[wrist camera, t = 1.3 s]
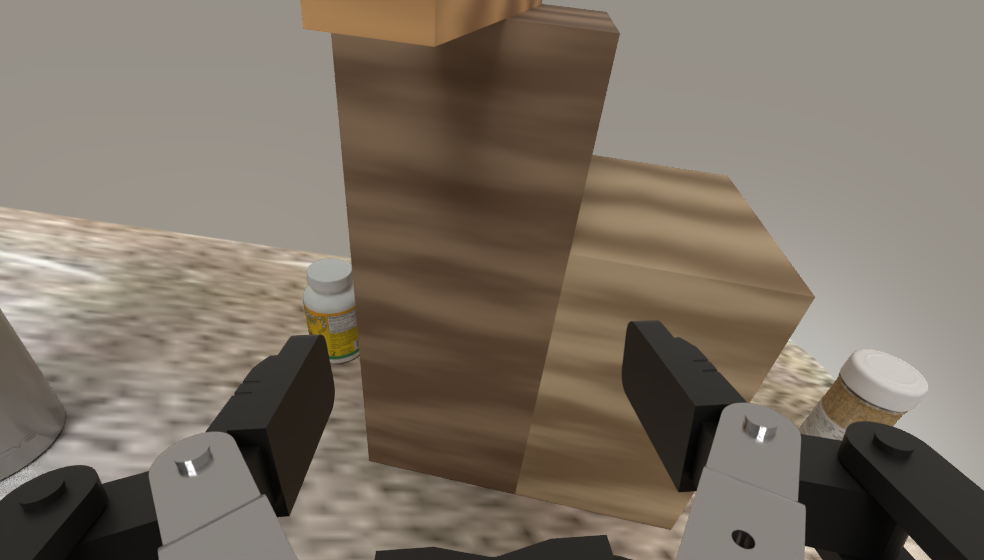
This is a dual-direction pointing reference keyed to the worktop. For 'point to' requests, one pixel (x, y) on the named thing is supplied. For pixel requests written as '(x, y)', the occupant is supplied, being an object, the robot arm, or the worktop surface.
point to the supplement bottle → (332, 307)
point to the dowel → (408, 17)
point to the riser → (534, 264)
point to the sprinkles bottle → (866, 394)
